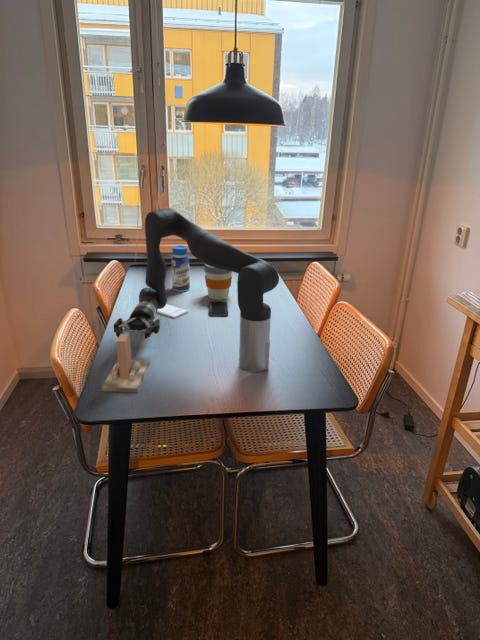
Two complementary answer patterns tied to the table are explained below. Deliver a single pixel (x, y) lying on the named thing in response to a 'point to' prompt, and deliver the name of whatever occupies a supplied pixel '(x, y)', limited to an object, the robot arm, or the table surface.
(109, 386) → the plate
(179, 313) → the external hard drive
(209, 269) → the reusable coffee cup
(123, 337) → the block
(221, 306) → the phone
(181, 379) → the table surface
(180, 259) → the beverage bottle
